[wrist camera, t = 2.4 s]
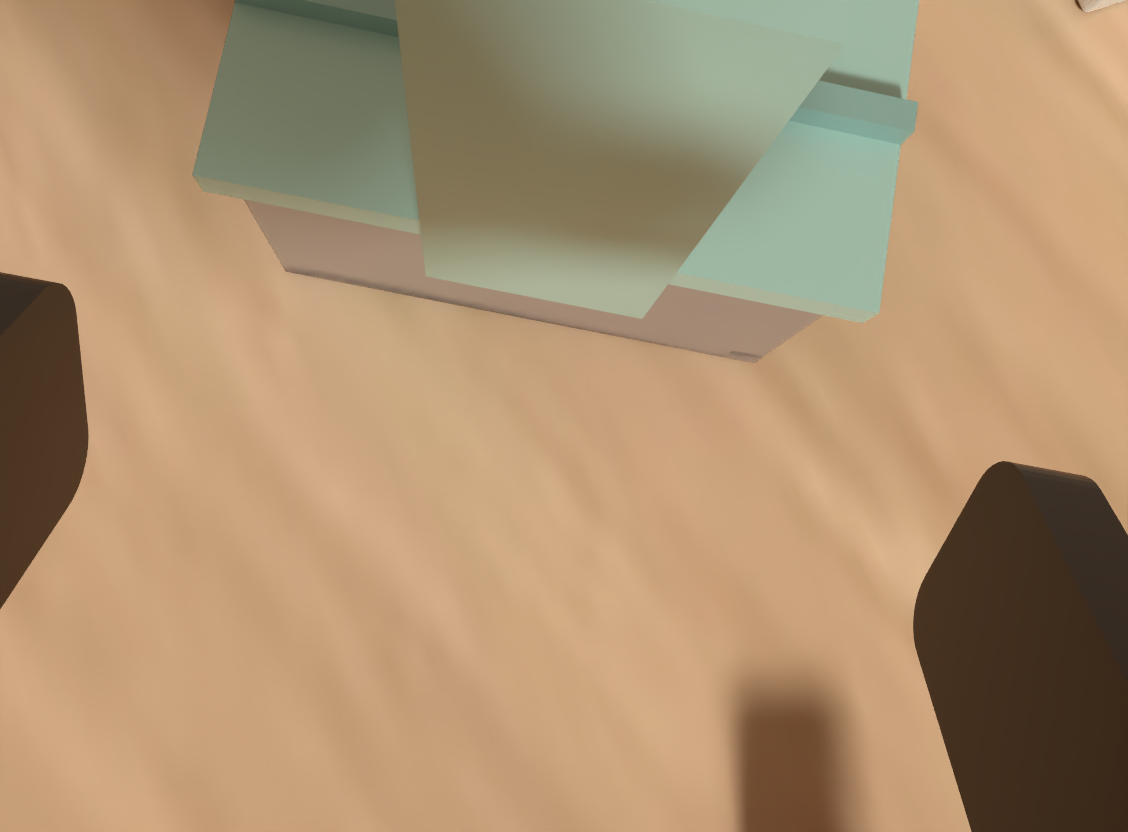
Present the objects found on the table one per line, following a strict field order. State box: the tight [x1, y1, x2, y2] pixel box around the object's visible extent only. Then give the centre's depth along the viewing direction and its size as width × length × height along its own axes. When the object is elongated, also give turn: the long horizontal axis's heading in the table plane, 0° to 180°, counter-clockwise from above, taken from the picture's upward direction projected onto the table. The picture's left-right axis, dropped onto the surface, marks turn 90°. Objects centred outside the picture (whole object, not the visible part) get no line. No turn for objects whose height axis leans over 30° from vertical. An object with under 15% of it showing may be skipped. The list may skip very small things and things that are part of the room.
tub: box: [244, 199, 823, 363], centre depth 24 cm, size 12×11×6 cm
